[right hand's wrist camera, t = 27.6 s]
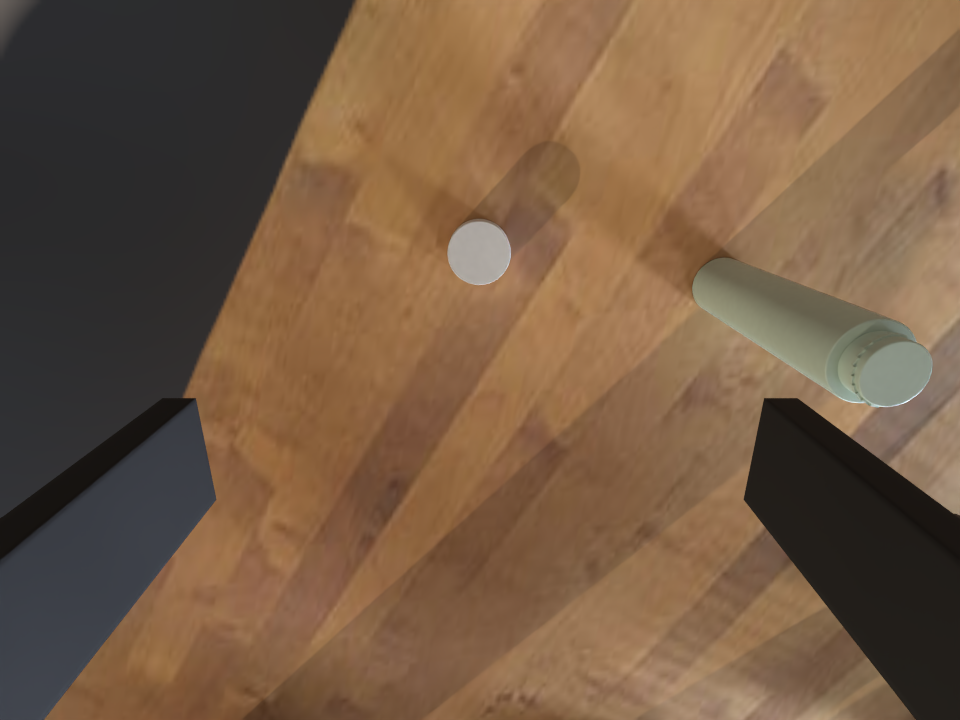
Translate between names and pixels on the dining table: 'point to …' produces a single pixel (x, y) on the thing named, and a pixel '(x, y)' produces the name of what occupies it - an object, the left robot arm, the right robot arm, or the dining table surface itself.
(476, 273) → the lid
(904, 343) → the green bottle
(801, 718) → the dining table surface
